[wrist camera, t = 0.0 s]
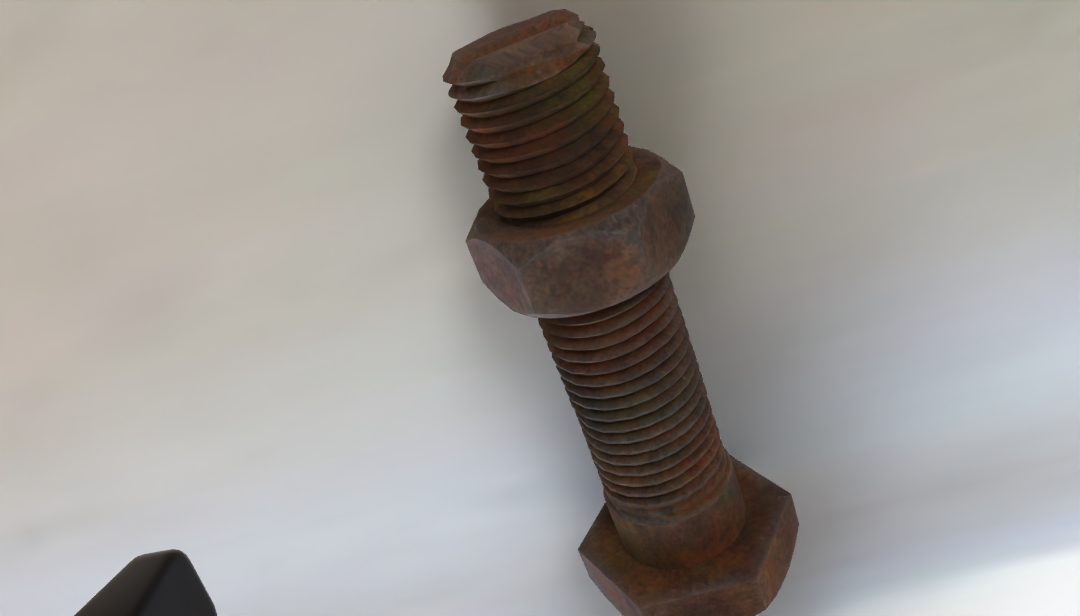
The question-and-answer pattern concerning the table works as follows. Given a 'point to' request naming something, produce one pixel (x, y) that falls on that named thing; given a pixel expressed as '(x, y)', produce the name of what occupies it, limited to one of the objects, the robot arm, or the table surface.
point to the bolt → (614, 322)
